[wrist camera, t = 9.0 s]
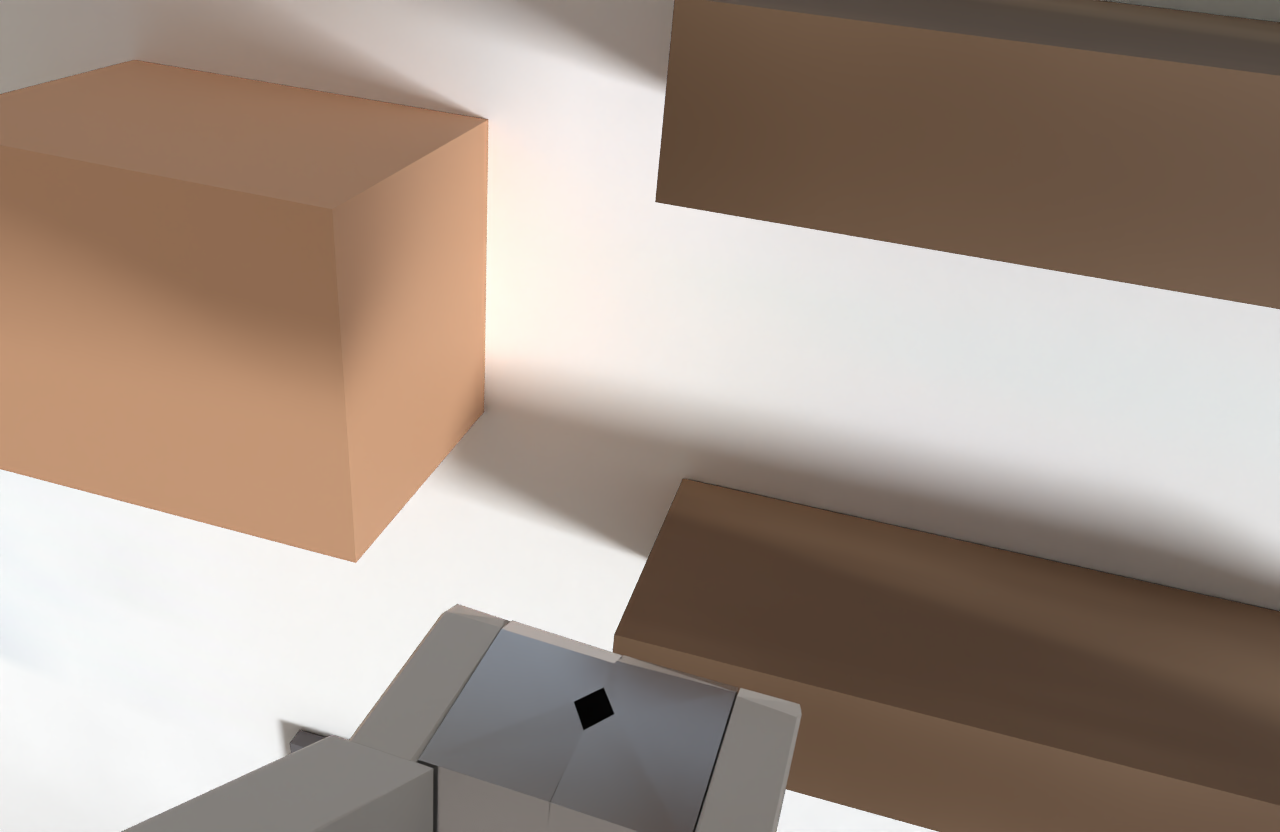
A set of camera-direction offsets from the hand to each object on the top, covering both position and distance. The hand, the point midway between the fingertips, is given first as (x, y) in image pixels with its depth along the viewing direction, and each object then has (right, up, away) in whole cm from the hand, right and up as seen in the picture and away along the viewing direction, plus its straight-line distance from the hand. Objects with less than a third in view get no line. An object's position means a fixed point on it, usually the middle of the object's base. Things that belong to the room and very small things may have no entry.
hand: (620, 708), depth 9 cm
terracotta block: (-5, +5, +8) cm, 11 cm away
